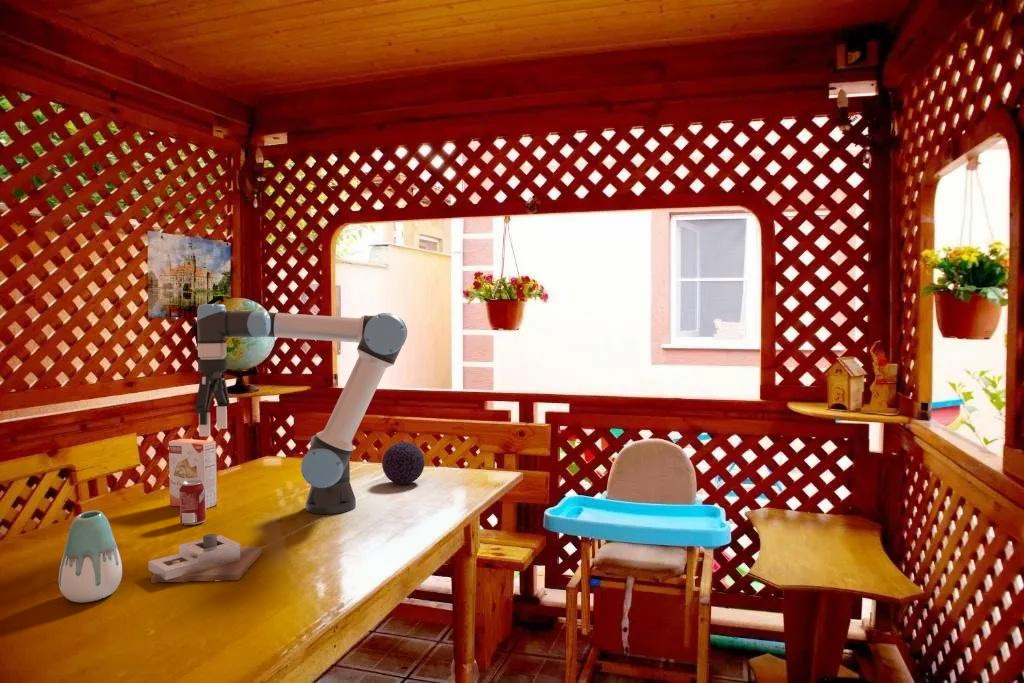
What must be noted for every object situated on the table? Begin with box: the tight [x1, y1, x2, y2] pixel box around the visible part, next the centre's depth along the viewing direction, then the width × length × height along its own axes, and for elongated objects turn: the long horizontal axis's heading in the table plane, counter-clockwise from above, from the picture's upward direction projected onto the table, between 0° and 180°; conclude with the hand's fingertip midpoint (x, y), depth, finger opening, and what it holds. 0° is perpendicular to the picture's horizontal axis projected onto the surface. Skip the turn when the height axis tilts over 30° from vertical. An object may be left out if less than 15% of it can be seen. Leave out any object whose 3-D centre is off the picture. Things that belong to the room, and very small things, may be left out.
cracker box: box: [168, 438, 218, 510], centre depth 218 cm, size 14×6×21 cm, turn 70°
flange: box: [148, 534, 241, 580], centre depth 162 cm, size 17×10×4 cm, turn 138°
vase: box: [58, 510, 123, 604], centre depth 147 cm, size 12×12×18 cm
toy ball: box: [381, 441, 426, 485], centre depth 247 cm, size 15×15×15 cm
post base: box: [150, 533, 264, 584], centre depth 164 cm, size 19×19×8 cm
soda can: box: [179, 480, 207, 526], centre depth 200 cm, size 7×7×12 cm
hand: (213, 432), depth 198 cm, fingers open, 13 cm apart
